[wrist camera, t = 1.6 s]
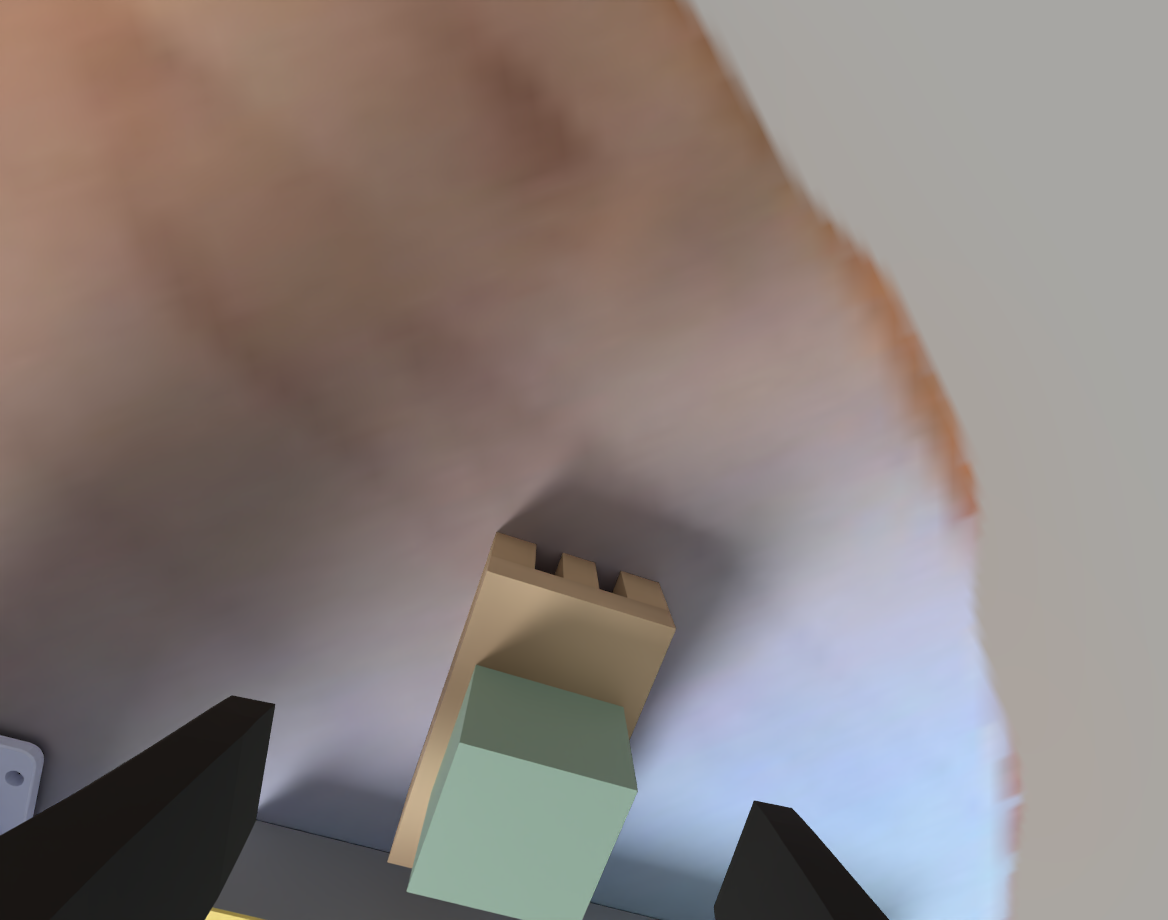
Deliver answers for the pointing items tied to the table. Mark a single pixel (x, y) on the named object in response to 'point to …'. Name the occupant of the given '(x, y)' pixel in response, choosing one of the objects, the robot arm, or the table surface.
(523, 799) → the green block
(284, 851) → the dock
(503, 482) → the table surface
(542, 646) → the pallet
